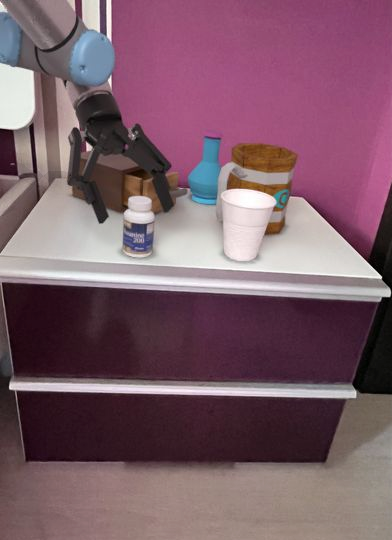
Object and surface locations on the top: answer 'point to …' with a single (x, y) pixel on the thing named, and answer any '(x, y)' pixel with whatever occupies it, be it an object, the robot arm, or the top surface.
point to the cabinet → (108, 178)
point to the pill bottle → (138, 227)
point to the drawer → (150, 187)
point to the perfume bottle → (207, 170)
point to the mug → (260, 177)
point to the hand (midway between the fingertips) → (138, 214)
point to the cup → (245, 222)
